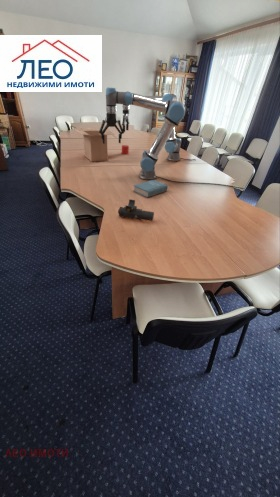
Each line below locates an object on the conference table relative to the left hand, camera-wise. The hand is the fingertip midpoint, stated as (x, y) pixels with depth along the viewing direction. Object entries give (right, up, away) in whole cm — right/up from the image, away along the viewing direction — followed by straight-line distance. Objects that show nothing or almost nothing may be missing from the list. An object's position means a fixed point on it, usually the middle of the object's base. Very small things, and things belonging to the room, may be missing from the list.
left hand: (111, 143), depth 179 cm
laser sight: (+20, -66, -38) cm, 79 cm away
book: (+31, -39, -1) cm, 51 cm away
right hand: (+6, +52, +78) cm, 94 cm away
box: (-27, +16, +68) cm, 75 cm away
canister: (+5, +32, +93) cm, 98 cm away
